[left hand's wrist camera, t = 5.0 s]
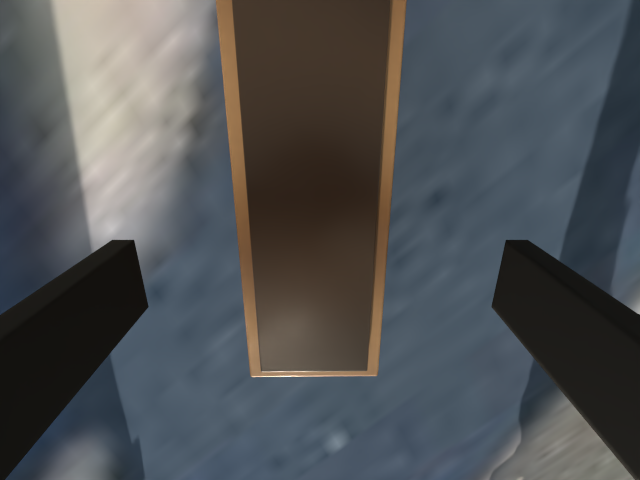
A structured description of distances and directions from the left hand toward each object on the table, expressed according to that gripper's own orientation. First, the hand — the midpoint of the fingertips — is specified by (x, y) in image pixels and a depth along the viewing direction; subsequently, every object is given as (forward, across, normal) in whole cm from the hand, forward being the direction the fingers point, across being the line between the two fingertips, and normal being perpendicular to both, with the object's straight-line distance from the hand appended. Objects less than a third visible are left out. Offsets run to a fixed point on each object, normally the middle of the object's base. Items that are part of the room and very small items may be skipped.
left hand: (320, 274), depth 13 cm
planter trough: (+9, 0, -10) cm, 13 cm away
